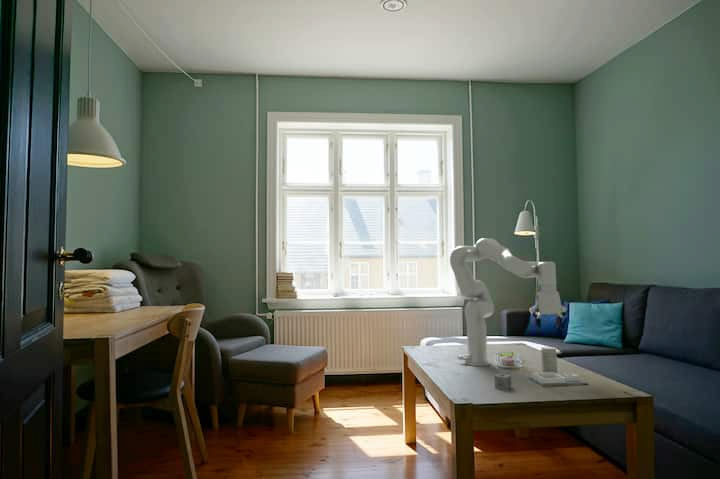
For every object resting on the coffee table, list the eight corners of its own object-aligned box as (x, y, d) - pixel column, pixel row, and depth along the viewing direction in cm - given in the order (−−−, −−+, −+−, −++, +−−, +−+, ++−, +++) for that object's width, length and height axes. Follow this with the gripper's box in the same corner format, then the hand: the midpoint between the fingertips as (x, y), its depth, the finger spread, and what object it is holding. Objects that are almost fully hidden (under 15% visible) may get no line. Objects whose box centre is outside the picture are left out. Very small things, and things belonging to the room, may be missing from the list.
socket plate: (542, 386, 191) (541, 379, 191) (528, 378, 203) (528, 372, 203) (588, 384, 193) (588, 377, 193) (572, 377, 205) (572, 370, 205)
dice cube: (499, 385, 193) (499, 373, 193) (511, 387, 190) (511, 375, 190) (495, 388, 189) (494, 375, 189) (506, 390, 186) (506, 377, 186)
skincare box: (557, 374, 210) (556, 347, 210) (557, 376, 206) (556, 349, 206) (541, 373, 212) (541, 346, 213) (542, 375, 208) (541, 348, 208)
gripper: (532, 289, 206) (534, 328, 205) (570, 288, 208) (571, 327, 207) (525, 288, 214) (526, 326, 213) (561, 288, 215) (562, 325, 214)
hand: (548, 326), depth 210 cm, fingers open, 9 cm apart
